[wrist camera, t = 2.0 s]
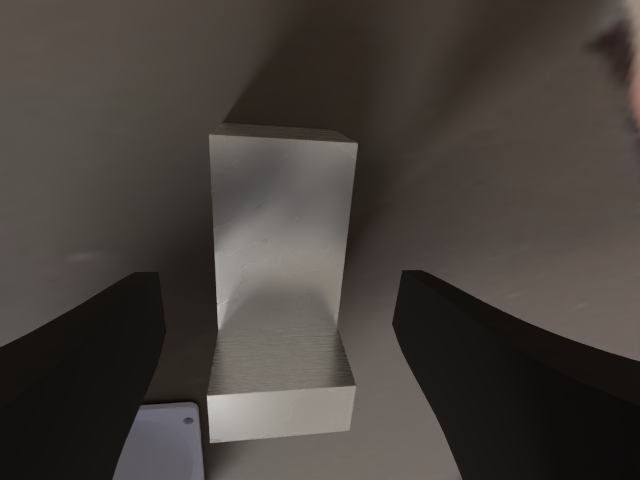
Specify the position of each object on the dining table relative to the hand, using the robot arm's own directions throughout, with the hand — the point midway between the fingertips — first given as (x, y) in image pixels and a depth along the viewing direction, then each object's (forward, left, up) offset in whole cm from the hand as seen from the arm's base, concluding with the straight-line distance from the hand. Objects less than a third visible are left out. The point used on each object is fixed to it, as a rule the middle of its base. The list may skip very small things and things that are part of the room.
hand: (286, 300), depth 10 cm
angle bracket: (0, 0, -6) cm, 6 cm away
